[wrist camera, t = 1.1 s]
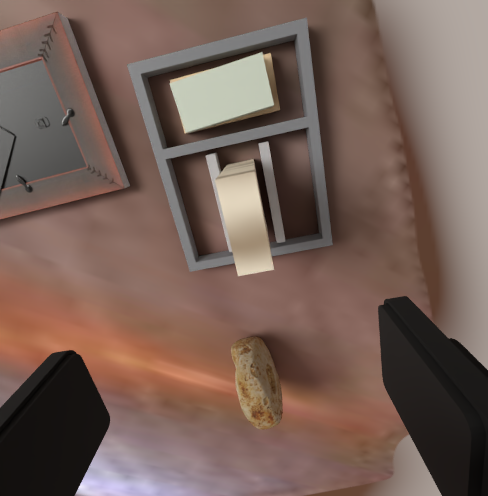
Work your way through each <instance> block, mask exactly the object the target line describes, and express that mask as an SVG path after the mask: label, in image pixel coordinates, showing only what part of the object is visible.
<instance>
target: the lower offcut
mask: <svg viewBox="0 0 488 496" xmlns="http://www.w3.org/2000/svg"><path fill="white" fill-rule="evenodd" d="M263 58H264V63H265V67H266V72H267V76H268V80H269V85H270V89H271V94H272V98H273V102H274V106H273V107H271V108H267V109H264V110H261V111H258V112H255V113H252V114H248V115H245V116H242V117H239V118H236V119H232V120H229V121H226V122H223V123H220V124H217V125H213V126H210V127H207V128H204V129H208V128H212V127H216V126H220V125H224V124H228V123H232V122H236V121H240V120H244V119H248V118H252V117H256V116H260V115H264V114H268V113H272V112H276V111H279V110H280V106H279V100H278V94H277V88H276V82H275V76H274V70H273V64H272V58H271V53H268V54H265V55H263ZM213 69H214V68H213ZM209 70H211V69H209ZM205 71H208V70H205ZM205 71H202V72H205ZM202 72H198V73H194V74H191V75H187V76H183V77H180V78H176V79H172V80H170V83H172V82H175V81H178V80H181V79H184V78H187V77H190V76H193V75H196V74H199V73H202ZM179 115H180V114H179ZM180 118H181V117H180ZM181 122H182V120H181ZM182 126H183V123H182ZM183 129H184V126H183ZM204 129H201V130H204ZM197 131H200V130H197ZM194 132H196V131H194ZM184 133H185V134H188V133H186V132H185V129H184ZM191 133H192V132H191Z"/></svg>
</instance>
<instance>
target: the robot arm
mask: <svg viewBox="0 0 488 496" xmlns="http://www.w3.org/2000/svg"><path fill="white" fill-rule="evenodd" d="M378 314H379V330H380V346H381V361H382V377H383V382H384V386H385V388H386V391H387V393H388V395H389V396H390V398H391V400H392V402H393V404H394V406H395V408H396V410H397V412H398V413H399V415H400V417H401V419H402V421H403V423H404V425H405V427H406V429H407V430H408V432H409V434H410V436H411V438H412V440H413V442H414V443H415V445H416V447H417V449H418V451H419V453H420V455H421V457H422V459H423V461H424V463H425V464H426V466H427V468H428V470H429V472H430V474H431V475H432V478H433V479H434V481H435V483H436V485H437V487H438V489H439V491H440V493H441V495H442V496H488V370H487V369H486V368H485V367H484V366H483V365H482V364H481V363H480V362H479V361H478V360H477V359H476V358H475V357H474V356H473V355H472V354H471V353H470V352H469V351H468V350H467V349H466V348H465V347H464V346H463V345H462V344H461V343H459V342H458V341H457V340H455V339H452V338H450V339H448V338H447V337H446V336H445V335H444V334H443V333H442V332H441V331H440V330H439V329H438V328H437V326H436V325H435V324H434V323H433V322H432V321H431V320H430V319H429V318H428V317H427V316H426V315H425V314H424V313H423V312H422V311H421V310H420V309H419V308H418V307H417V306H416V305H415V304H414V303H413V302H412V301H411V300H410V299H409V298H408V297H407V296H403V297H397V298H391V299H385V300H384V305H380V306H379V307H378ZM109 424H110V415H109V413H108V411H107V409H106V407H105V405H104V403H103V400H102V398H101V396H100V394H99V392H98V390H97V388H96V386H95V384H94V382H93V380H92V378H91V376H90V374H89V371H88V369H87V367H86V365H85V363H84V361H83V359H82V357H81V356H80V355H79V354H77V353H76V352H75V351H73V350H68V351H62V352H56V353H52V354H51V355H50V356H49V357H48V358H47V359H46V360H45V361H44V362H43V363H42V364H41V365H40V366H39V367H38V368H37V369H36V370H35V372H34V373H33V374H32V375H31V376H30V377H29V378H28V379H27V380H26V381H25V382H24V383H23V384H22V385H21V386H20V388H19V389H18V390H17V391H16V392H15V393H14V394H13V395H12V396H11V397H10V398H9V399H8V400H7V401H6V402H5V403H4V405H3V406H2V407H1V408H0V496H75V494H76V492H77V490H78V488H79V486H80V484H81V482H82V480H83V478H84V476H85V474H86V472H87V470H88V468H89V466H90V464H91V462H92V460H93V458H94V456H95V454H96V452H97V450H98V448H99V446H100V444H101V442H102V440H103V438H104V436H105V434H106V432H107V430H108V427H109Z"/></svg>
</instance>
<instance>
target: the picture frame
mask: <svg viewBox="0 0 488 496" xmlns="http://www.w3.org/2000/svg"><path fill="white" fill-rule="evenodd" d="M129 186H130V184H129V181H128V179H127V176H126V173H125V171H124V168H123V165H122V163H121V160H120V157H119V155H118V152H117V149H116V147H115V144H114V141H113V139H112V136H111V133H110V131H109V128H108V125H107V123H106V120H105V117H104V115H103V112H102V109H101V106H100V104H99V101H98V98H97V96H96V93H95V90H94V88H93V85H92V82H91V80H90V77H89V74H88V72H87V69H86V66H85V64H84V61H83V58H82V56H81V53H80V50H79V48H78V45H77V42H76V39H75V37H74V34H73V31H72V29H71V26H70V23H69V21H68V18H67V17H65V16H64V15H62V14H60V13H59V12H55V13H52V14H49V15H46V16H43V17H40V18H37V19H34V20H31V21H28V22H25V23H22V24H19V25H16V26H12V27H9V28H6V29H3V30H0V219H4V218H8V217H12V216H16V215H20V214H24V213H28V212H32V211H36V210H40V209H44V208H48V207H52V206H56V205H60V204H64V203H68V202H72V201H76V200H80V199H84V198H88V197H92V196H96V195H100V194H104V193H108V192H112V191H116V190H120V189H124V188H127V187H129Z"/></svg>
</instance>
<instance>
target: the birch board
mask: <svg viewBox="0 0 488 496" xmlns="http://www.w3.org/2000/svg"><path fill="white" fill-rule="evenodd" d="M215 183H216V187H217V191H218V195H219V199H220V203H221V208H222V212H223V216H224V220H225V224H226V228H227V232H228V236H229V240H230V245H231V249H232V253H233V257H234V261H235V265H236V269H237V273H238V276H241V275H247V274H252V273H258V272H263V271H269V270H274V267H273V261H272V255H271V249H270V243H269V237H268V231H267V225H266V220H265V215H264V210H263V205H262V199H261V194H260V189H259V184H258V179H257V173H256V168H255V163H254V159H251V160H246V161H242V162H237V163H233V164H228V165H227V166H226V167H225V168H224V169H223V171H222V172H221V173H220V174H219V175H218V177H217V178H216V179H215Z"/></svg>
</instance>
